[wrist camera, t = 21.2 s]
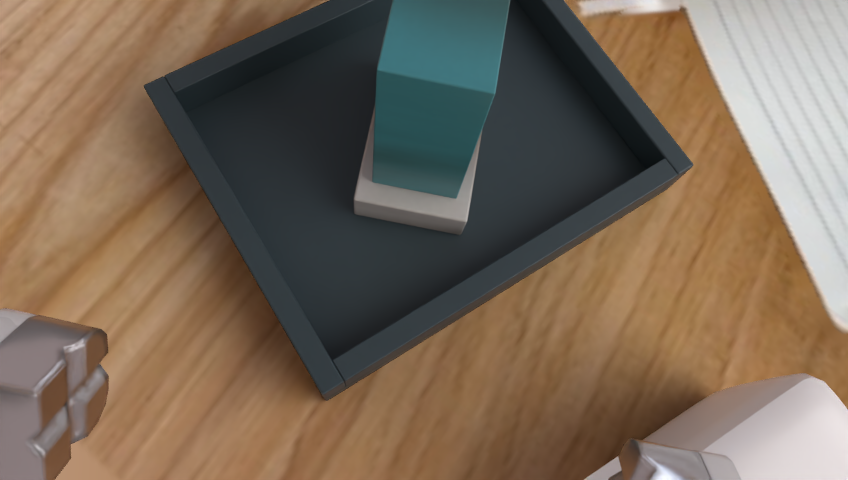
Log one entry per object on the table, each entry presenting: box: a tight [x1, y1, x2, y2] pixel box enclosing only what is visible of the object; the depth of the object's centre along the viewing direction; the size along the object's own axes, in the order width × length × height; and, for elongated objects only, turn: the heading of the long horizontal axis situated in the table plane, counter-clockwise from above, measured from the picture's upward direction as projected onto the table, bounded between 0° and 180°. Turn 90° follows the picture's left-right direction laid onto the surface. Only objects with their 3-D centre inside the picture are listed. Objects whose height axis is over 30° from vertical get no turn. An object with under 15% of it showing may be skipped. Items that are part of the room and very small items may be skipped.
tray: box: [144, 0, 693, 401], centre depth 25 cm, size 16×13×2 cm
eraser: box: [354, 0, 510, 235], centre depth 21 cm, size 6×4×8 cm, turn 170°
